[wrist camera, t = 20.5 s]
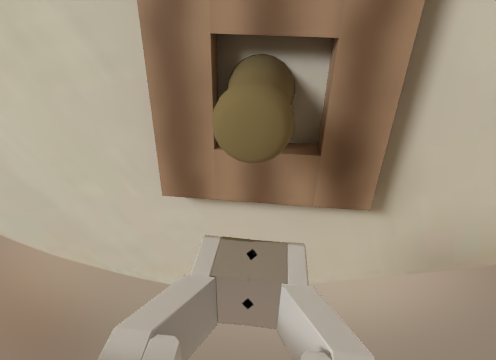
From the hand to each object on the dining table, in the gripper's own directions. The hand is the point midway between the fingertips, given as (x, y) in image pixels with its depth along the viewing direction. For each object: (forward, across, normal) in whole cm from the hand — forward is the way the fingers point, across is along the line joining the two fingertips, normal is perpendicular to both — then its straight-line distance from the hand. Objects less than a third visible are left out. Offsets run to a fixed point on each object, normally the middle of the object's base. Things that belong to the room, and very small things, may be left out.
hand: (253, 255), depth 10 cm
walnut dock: (+21, 0, 0) cm, 21 cm away
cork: (+21, +1, 0) cm, 21 cm away
